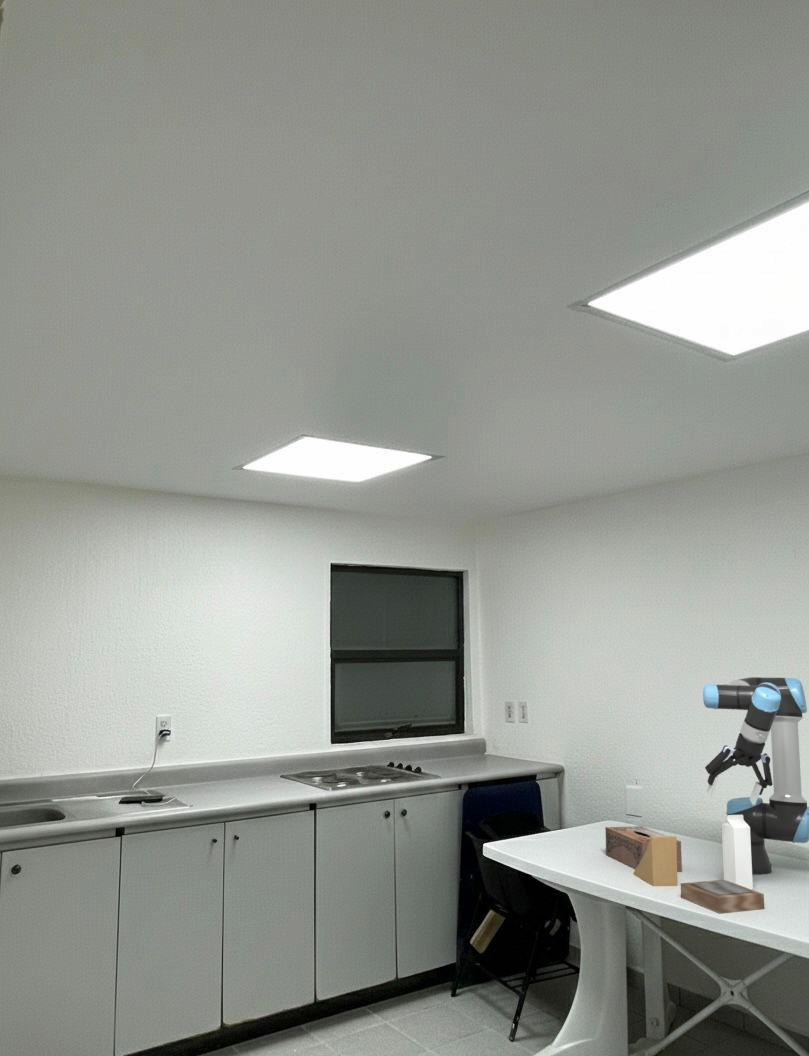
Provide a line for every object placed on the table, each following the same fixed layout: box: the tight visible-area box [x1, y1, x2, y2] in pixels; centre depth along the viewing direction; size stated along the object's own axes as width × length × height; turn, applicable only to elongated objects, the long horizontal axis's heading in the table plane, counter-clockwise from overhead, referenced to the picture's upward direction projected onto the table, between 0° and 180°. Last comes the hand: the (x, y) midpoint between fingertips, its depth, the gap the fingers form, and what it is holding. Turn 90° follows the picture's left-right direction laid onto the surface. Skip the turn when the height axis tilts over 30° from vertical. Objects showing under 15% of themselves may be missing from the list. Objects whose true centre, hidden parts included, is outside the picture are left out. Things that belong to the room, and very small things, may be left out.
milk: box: [721, 814, 754, 890], centre depth 251 cm, size 6×6×22 cm
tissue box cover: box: [604, 825, 683, 873], centre depth 280 cm, size 26×14×10 cm, turn 14°
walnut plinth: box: [680, 879, 765, 914], centre depth 234 cm, size 16×16×4 cm
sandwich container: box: [632, 835, 678, 887], centre depth 259 cm, size 9×15×15 cm, turn 8°
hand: (730, 798), depth 247 cm, fingers open, 13 cm apart
